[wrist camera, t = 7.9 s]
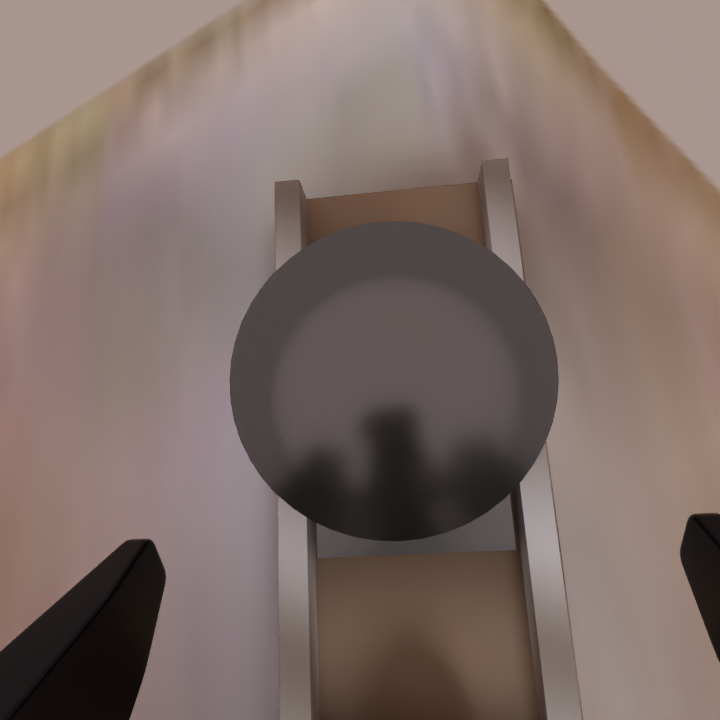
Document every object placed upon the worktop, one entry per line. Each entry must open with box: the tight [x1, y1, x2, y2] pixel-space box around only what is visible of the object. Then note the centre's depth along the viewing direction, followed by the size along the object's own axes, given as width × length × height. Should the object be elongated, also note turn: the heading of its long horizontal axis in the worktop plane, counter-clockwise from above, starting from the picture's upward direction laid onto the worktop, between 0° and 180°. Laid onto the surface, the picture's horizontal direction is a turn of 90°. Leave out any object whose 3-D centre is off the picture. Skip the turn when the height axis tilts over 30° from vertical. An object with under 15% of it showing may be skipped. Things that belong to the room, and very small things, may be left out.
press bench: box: [275, 158, 583, 720], centre depth 15 cm, size 23×8×4 cm, turn 3°
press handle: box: [230, 221, 558, 558], centre depth 11 cm, size 5×5×11 cm
